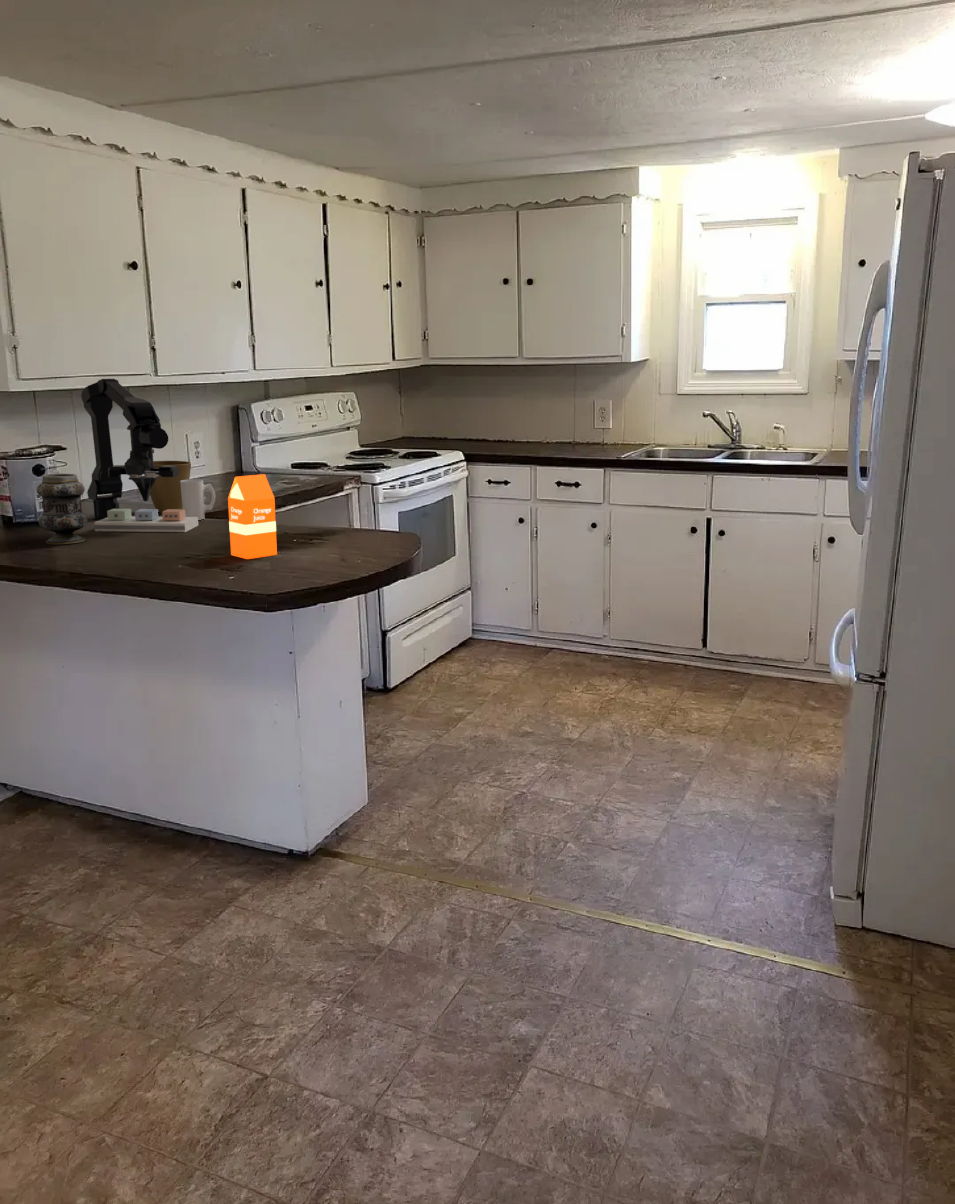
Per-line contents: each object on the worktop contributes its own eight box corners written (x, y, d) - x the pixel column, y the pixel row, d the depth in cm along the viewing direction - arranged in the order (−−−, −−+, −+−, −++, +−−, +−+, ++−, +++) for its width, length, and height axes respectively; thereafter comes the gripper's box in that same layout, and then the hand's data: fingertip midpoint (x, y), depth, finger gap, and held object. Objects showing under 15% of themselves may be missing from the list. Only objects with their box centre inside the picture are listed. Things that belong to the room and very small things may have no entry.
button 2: (134, 520, 282) (134, 511, 281) (141, 517, 287) (141, 508, 286) (152, 520, 282) (151, 511, 281) (158, 517, 287) (157, 509, 286)
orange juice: (230, 555, 247) (226, 475, 242) (260, 550, 253) (257, 472, 248) (247, 559, 241) (243, 478, 237) (277, 554, 247) (274, 475, 243)
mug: (182, 521, 297) (180, 482, 294) (182, 518, 303) (180, 479, 300) (217, 520, 300) (214, 481, 297) (216, 517, 306) (214, 478, 303)
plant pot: (156, 517, 305) (152, 465, 301) (138, 511, 316) (134, 461, 313) (201, 512, 314) (198, 462, 311) (182, 507, 326) (179, 459, 322)
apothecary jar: (98, 539, 267) (93, 473, 263) (69, 546, 256) (63, 477, 252) (61, 536, 270) (54, 471, 266) (30, 544, 259) (23, 476, 255)
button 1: (107, 519, 282) (106, 511, 281) (114, 517, 287) (114, 508, 287) (124, 520, 282) (123, 511, 281) (131, 517, 287) (130, 508, 286)
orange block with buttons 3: (162, 520, 282) (161, 511, 281) (168, 517, 287) (168, 509, 286) (179, 520, 281) (179, 512, 281) (185, 517, 287) (185, 509, 286)
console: (94, 531, 279) (93, 522, 279) (111, 524, 291) (111, 515, 291) (184, 532, 279) (184, 523, 278) (198, 525, 291) (197, 516, 290)
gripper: (98, 448, 272) (102, 504, 276) (164, 449, 271) (168, 505, 275) (113, 445, 283) (118, 499, 286) (177, 446, 282) (181, 500, 286)
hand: (145, 501), depth 283 cm, fingers closed
